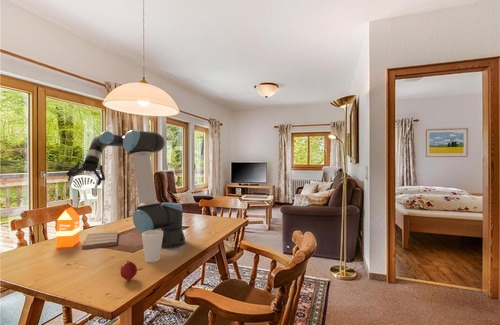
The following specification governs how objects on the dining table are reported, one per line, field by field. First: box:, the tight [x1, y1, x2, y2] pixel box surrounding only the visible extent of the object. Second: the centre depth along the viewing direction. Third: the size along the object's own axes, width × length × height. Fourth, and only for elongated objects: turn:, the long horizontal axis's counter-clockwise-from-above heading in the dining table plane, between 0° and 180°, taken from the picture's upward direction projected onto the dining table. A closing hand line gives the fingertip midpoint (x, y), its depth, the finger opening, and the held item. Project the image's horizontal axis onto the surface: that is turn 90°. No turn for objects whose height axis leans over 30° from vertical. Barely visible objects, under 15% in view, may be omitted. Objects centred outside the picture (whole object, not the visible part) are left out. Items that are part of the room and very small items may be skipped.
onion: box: [120, 260, 138, 282], centre depth 98 cm, size 6×6×8 cm
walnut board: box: [81, 230, 119, 250], centre depth 144 cm, size 22×16×2 cm
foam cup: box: [141, 229, 163, 263], centre depth 118 cm, size 10×9×13 cm
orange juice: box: [55, 206, 81, 248], centre depth 138 cm, size 8×9×20 cm
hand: (82, 188), depth 147 cm, fingers open, 13 cm apart
